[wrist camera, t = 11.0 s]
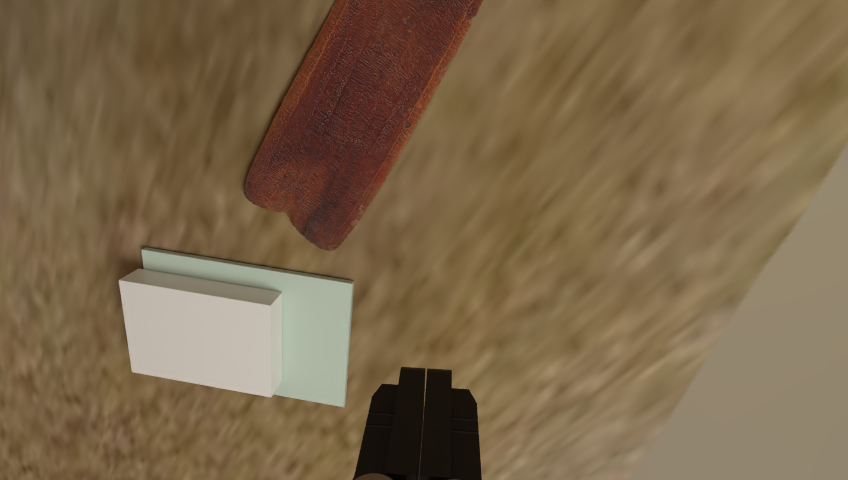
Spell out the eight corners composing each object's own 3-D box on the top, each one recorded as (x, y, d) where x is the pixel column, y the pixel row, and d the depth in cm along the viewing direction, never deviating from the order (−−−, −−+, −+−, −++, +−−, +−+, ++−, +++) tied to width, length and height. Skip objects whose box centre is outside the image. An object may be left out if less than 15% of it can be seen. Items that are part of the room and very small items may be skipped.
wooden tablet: (339, 254, 41) (333, 261, 40) (242, 193, 40) (232, 198, 38) (519, -34, 31) (521, -39, 30) (398, -124, 30) (394, -134, 29)
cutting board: (354, 280, 41) (352, 283, 41) (345, 403, 46) (343, 407, 46) (145, 247, 42) (141, 249, 42) (160, 369, 48) (156, 373, 47)
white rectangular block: (270, 305, 39) (118, 280, 40) (271, 397, 43) (132, 371, 44) (282, 291, 42) (139, 268, 43) (282, 379, 45) (150, 356, 46)
